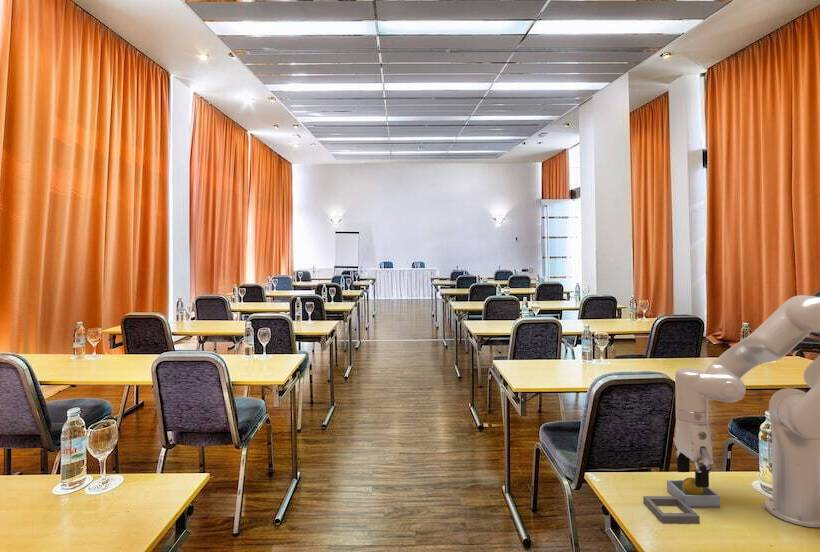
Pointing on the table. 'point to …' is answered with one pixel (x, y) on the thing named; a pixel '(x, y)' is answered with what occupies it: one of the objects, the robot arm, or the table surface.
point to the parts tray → (694, 496)
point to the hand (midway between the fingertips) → (692, 478)
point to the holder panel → (685, 517)
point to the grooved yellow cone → (692, 487)
